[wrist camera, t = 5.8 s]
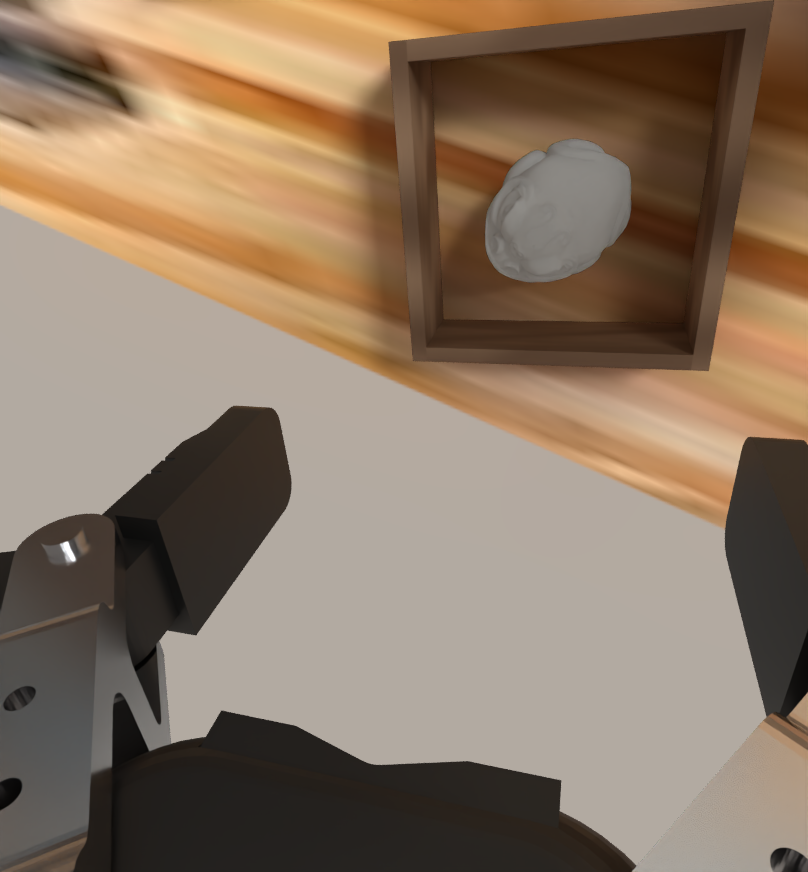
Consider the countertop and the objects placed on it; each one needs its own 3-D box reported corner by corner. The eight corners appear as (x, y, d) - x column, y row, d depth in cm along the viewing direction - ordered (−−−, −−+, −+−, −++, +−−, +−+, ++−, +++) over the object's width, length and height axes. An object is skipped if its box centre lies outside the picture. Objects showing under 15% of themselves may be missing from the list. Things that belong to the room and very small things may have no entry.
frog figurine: (475, 189, 34) (449, 215, 28) (594, 100, 30) (592, 109, 24) (535, 282, 35) (522, 325, 29) (655, 208, 32) (667, 241, 26)
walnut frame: (414, 44, 31) (388, 42, 27) (750, 9, 27) (774, 0, 23) (431, 331, 38) (413, 360, 35) (696, 337, 34) (708, 370, 31)
